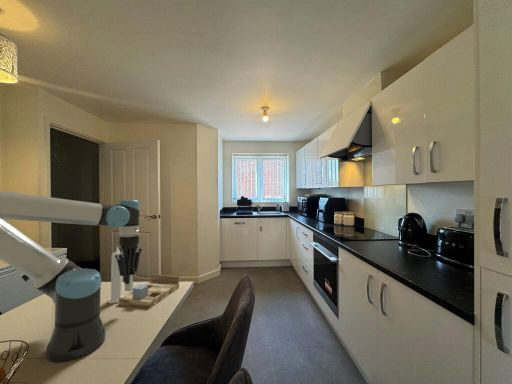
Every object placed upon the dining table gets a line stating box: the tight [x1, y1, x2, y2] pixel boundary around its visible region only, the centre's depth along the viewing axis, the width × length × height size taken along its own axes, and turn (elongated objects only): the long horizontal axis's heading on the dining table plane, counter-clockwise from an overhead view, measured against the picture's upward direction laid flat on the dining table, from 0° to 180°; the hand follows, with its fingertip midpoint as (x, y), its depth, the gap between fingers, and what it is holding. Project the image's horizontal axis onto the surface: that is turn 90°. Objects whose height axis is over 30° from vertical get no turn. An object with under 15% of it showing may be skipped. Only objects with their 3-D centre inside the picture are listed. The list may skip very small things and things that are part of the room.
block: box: [132, 284, 148, 299], centre depth 107 cm, size 4×4×4 cm
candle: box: [107, 246, 124, 305], centre depth 109 cm, size 7×7×25 cm
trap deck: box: [118, 273, 180, 309], centre depth 114 cm, size 24×16×6 cm, turn 168°
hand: (128, 290), depth 99 cm, fingers closed
